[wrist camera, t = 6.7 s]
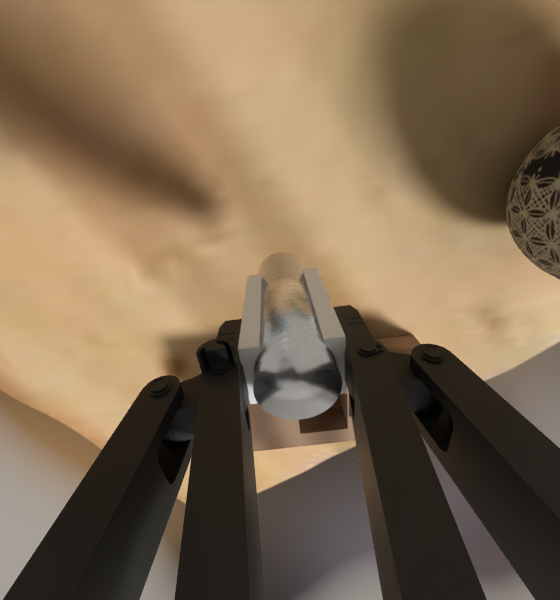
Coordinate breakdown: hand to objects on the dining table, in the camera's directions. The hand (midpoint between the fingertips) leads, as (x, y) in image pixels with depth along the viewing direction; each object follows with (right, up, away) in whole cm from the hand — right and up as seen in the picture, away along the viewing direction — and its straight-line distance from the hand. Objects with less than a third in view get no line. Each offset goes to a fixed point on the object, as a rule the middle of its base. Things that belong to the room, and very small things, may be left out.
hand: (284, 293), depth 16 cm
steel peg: (0, +1, +2) cm, 3 cm away
